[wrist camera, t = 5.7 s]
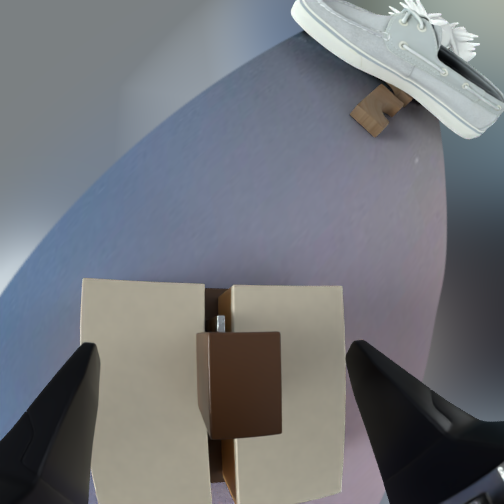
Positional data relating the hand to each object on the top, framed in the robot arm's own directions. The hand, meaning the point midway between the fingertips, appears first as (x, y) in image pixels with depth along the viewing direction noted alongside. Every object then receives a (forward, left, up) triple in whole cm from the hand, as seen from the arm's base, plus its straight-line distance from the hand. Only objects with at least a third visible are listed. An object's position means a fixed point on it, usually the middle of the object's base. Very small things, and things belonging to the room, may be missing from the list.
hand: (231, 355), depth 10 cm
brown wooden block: (-1, 0, -7) cm, 7 cm away
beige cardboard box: (-3, 0, -8) cm, 8 cm away
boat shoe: (+24, -19, -6) cm, 31 cm away
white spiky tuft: (+31, -27, -6) cm, 41 cm away
